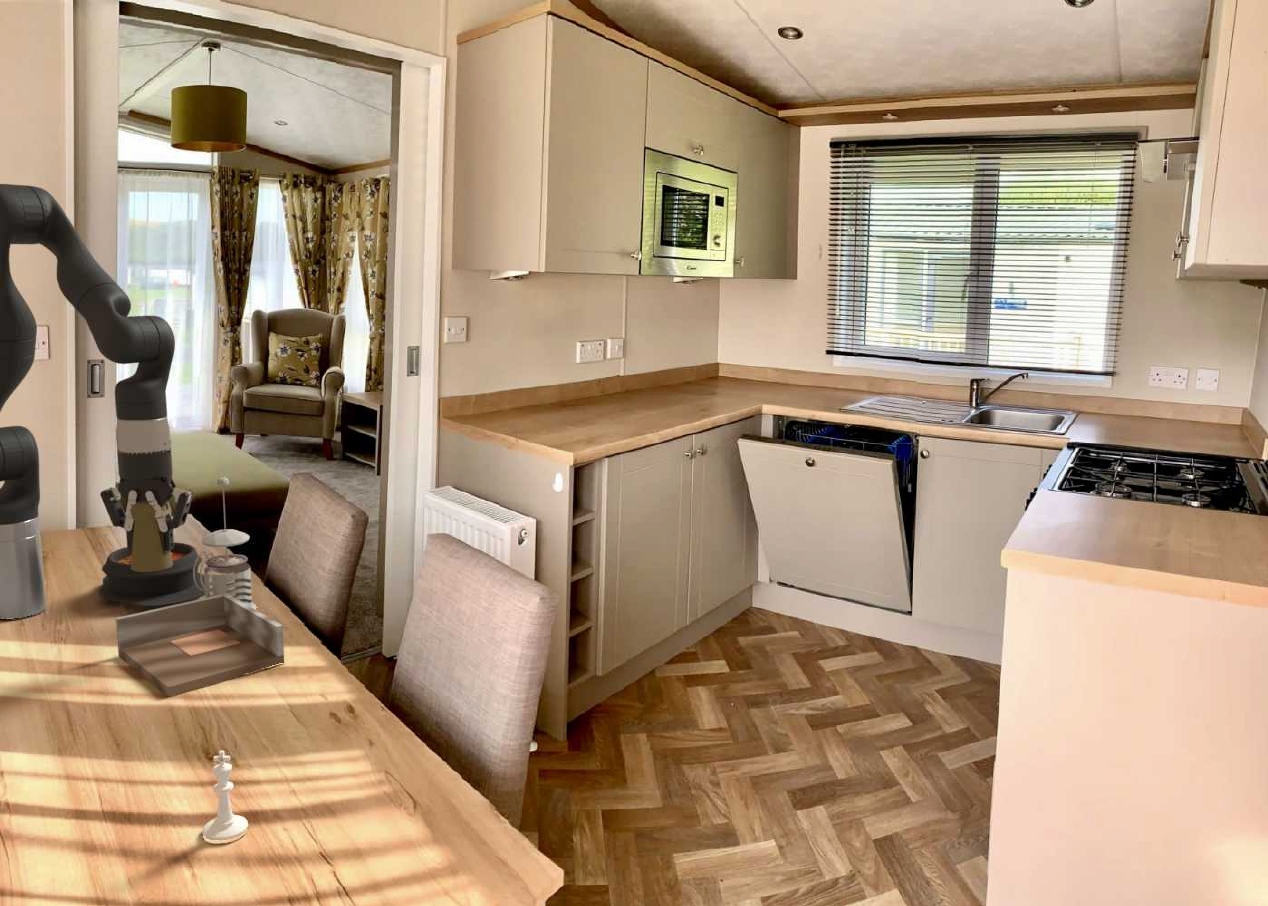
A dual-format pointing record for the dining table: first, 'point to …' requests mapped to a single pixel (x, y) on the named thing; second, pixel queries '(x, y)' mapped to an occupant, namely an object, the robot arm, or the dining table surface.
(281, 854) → the dining table surface
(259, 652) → the board
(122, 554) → the casserole
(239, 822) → the chess piece
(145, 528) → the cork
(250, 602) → the french press
